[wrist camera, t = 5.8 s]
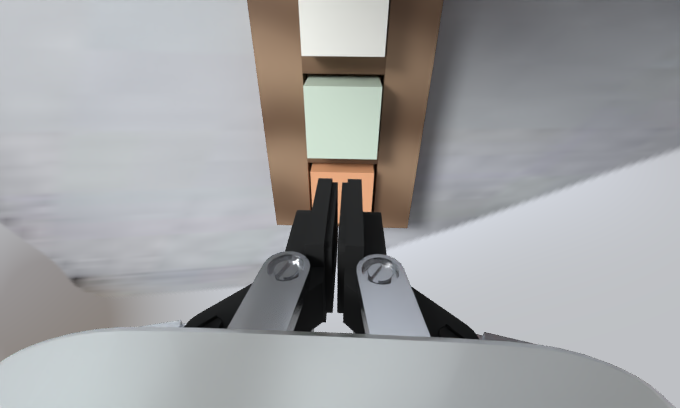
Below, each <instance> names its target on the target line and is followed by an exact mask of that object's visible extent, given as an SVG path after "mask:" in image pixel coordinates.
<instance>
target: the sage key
mask: <svg viewBox="0 0 680 408" xmlns="http://www.w3.org/2000/svg"><path fill="white" fill-rule="evenodd" d="M303 91H304V109H305V126H306V144H307V158H325V159H375V160H377V149H378V136H379V124H380V111H381V98H382V85H381V81H380V78H379V76H331V75H309V76H308V78H307V80H306V82H305V84H304V85H303Z"/></svg>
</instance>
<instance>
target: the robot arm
mask: <svg viewBox="0 0 680 408" xmlns="http://www.w3.org/2000/svg"><path fill="white" fill-rule="evenodd" d="M337 243H338V294H337V297H338V298H337V301H338V303H337V312H338V313H343V322H344V323H345V324H346V325H347V326H348V327H349V328H350V329H351V330H353V334H352V333H327V332H314V328H315V327H317V326H318V325H319V324H321V323H322V322H326V314H327V313H332V312H333V299H334V285H335V272H336V258H337ZM0 408H676V407H674V406H673V405H672V404H671V403H670V402H669V401H668V400H667V399H666V398H665V397H664V396H663V395H662V394H660V393H659V392H658V391H657V390H656V389H654V388H653V387H652V386H651V385H649V384H648V383H646V382H645V381H643V380H641V379H640V378H639V377H637V376H635V375H633V374H631V373H629V372H627V371H625V370H623V369H621V368H619V367H617V366H614V365H612V364H610V363H607V362H604V361H601V360H598V359H595V358H592V357H590V356H587V355H584V354H580V353H576V352H573V351H569V350H565V349H561V348H555V347H550V346H544V345H537V344H533V343H529V342H524V341H520V340H516V339H512V338H507V337H503V336H499V335H495V334H491V333H486V332H484V334H483V336H482V335H478V334H475V332H474V331H473V330H472V329H471V328H470V327H469V326H467V325H466V324H465V323H463V322H462V321H460V320H459V319H458V318H456V317H455V316H453V315H451V314H450V313H449V312H447V311H446V310H445V309H443V308H442V307H440V306H438V305H437V304H436V303H434V302H433V301H431V300H430V299H429V298H427V297H426V296H424V295H423V294H421V293H420V292H418V291H417V290H415V289H414V288H413V287H411V285H410V283H409V280H408V278H407V275H406V273H405V270H404V268H403V266H402V265H401V263H400V262H398V261H397V260H396V259H394V258H392V257H390V256H387V255H386V247H385V239H384V231H383V223H382V215H381V212H363V201H362V179H348V182H342V192H341V206H340V220H339V235H338V182H333V179H332V178H318V183H317V187H316V192H315V197H314V202H313V207H312V210H297V211H296V215H295V218H294V222H293V225H292V229H291V232H290V236H289V239H288V243H287V247H286V250H285V252H280V253H277V254H275V255H272V256H271V257H270V258H268V259H267V260H266V261H265V263H264V264H263V266H262V268H261V269H260V271H259V273H258V275H257V276H256V278H255V280H254V282H253V283H252V284H250V285H248V286H247V287H245V288H243V289H241V290H240V291H238V292H236V293H234V294H233V295H231V296H229V297H227V298H226V299H224V300H222V301H220V302H219V303H217V304H215V305H213V306H212V307H210V308H208V309H206V310H205V311H203V312H201V313H199V314H198V315H196V316H195V317H193V318H192V319H191V320H190V321H189V322H188V323H184V324H182V321H181V320H178V321H172V322H166V323H159V324H153V325H147V326H140V327H116V328H105V329H95V330H89V331H83V332H77V333H72V334H68V335H64V336H60V337H56V338H53V339H49V340H46V341H43V342H40V343H37V344H34V345H32V346H30V347H27V348H25V349H22V350H20V351H18V352H17V353H15V354H13V355H11V356H9V357H7V358H6V359H4V360H3V361H1V362H0Z"/></svg>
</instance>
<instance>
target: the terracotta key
mask: <svg viewBox="0 0 680 408" xmlns="http://www.w3.org/2000/svg"><path fill="white" fill-rule="evenodd" d="M310 175H311V194H312V207H313V202H314V197H315V192H316V187H317V183H318V178H332V179H333V182H338V223H339V220H340V206H341V192H342V182H348V179H362V201H363V212H371V208H372V195H373V182H374V168H373V164H359V163H312V167H311V171H310Z"/></svg>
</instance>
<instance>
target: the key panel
mask: <svg viewBox="0 0 680 408" xmlns="http://www.w3.org/2000/svg"><path fill="white" fill-rule="evenodd" d="M247 3H248V11H249V18H250V26H251V33H252V41H253V48H254V56H255V63H256V71H257V78H258V86H259V93H260V101H261V108H262V116H263V123H264V131H265V138H266V146H267V153H268V161H269V168H270V176H271V183H272V191H273V198H274V206H275V213H276V221H277V225H293V222H294V218H295V215H296V211H297V210H312V194H311V175H310V171H311V167H312V163H359V164H373V168H374V182H373V195H372V208H371V212H381V215H382V223H383V227H384V228H407V227H408V220H409V214H410V208H411V202H412V195H413V189H414V183H415V176H416V170H417V164H418V158H419V151H420V145H421V139H422V132H423V126H424V120H425V113H426V107H427V101H428V95H429V88H430V82H431V76H432V69H433V63H434V57H435V51H436V44H437V38H438V32H439V25H440V19H441V13H442V6H443V0H389V8H388V21H387V34H386V47H385V57H352V56H301V39H300V21H299V4H298V0H247ZM309 75H331V76H379V78H380V81H381V85H382V98H381V111H380V124H379V136H378V149H377V160H375V159H325V158H307V144H306V126H305V109H304V91H303V85H304V84H305V82H306V80H307V78H308V76H309ZM338 226H339V223H338Z"/></svg>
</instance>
